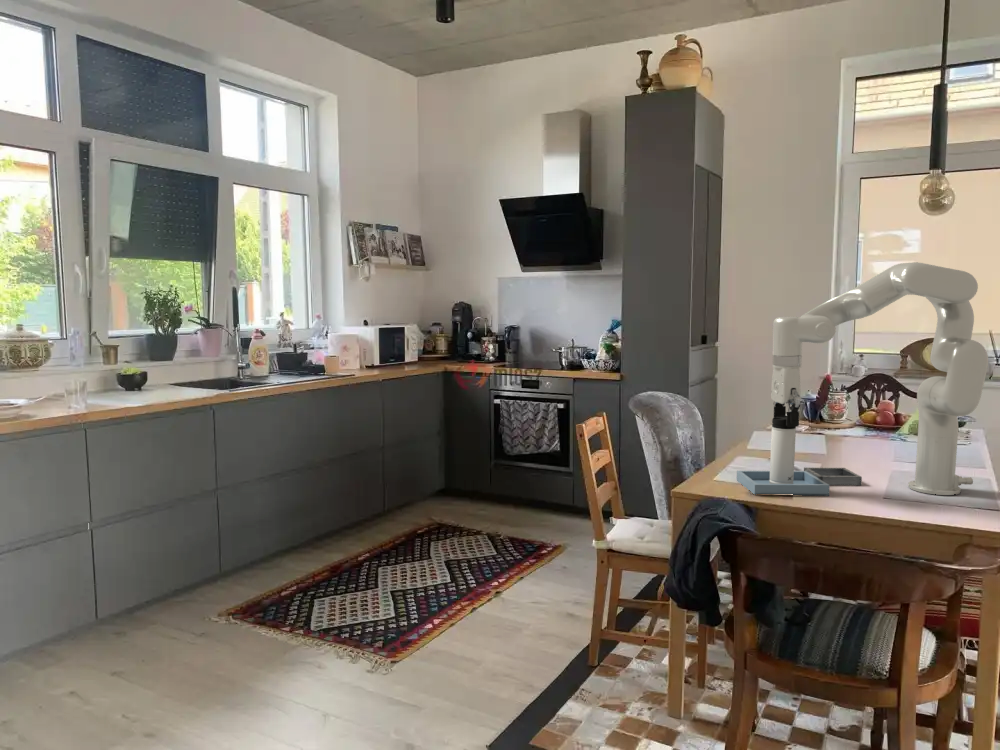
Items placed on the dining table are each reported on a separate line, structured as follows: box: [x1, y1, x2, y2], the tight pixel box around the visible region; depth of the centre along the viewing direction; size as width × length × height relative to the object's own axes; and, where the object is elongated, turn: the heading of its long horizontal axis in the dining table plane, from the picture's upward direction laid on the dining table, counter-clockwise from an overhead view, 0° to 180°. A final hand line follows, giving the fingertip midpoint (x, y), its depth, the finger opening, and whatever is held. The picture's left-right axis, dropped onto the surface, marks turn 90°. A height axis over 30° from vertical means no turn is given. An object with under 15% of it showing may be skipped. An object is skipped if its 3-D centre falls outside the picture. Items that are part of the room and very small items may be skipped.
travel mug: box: [769, 415, 797, 484], centre depth 207 cm, size 6×7×20 cm
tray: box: [736, 470, 831, 497], centre depth 208 cm, size 20×16×3 cm
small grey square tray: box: [803, 467, 863, 486], centre depth 217 cm, size 12×11×2 cm
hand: (785, 423), depth 206 cm, fingers open, 9 cm apart
